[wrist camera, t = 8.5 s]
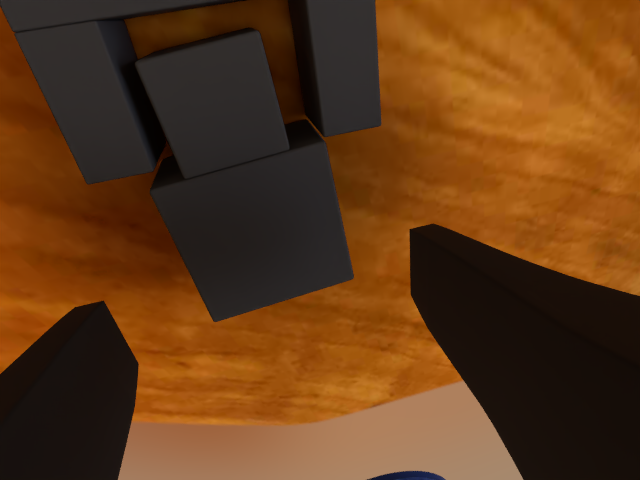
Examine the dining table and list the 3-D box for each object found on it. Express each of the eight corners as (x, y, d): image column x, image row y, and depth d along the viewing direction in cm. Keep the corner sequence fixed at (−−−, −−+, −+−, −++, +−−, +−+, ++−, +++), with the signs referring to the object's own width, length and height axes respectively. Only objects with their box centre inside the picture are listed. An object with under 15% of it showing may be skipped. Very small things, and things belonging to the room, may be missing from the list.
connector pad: (335, 240, 16) (355, 279, 13) (215, 276, 15) (213, 323, 13) (284, 18, 12) (300, 18, 9) (117, 60, 11) (88, 73, 9)
